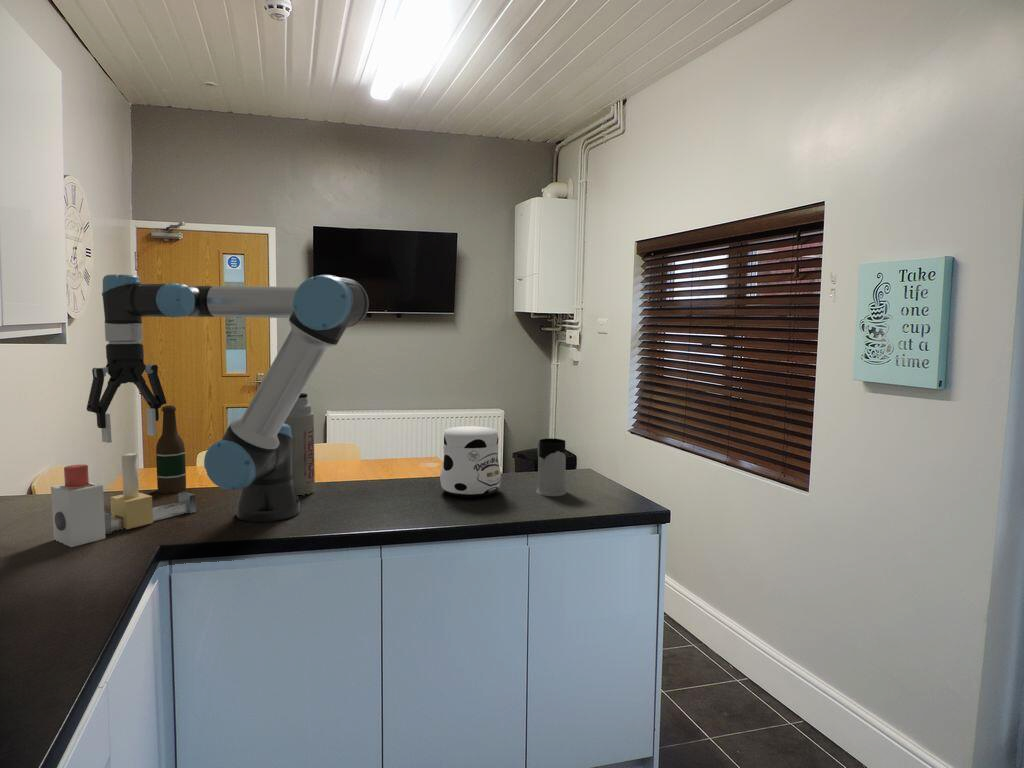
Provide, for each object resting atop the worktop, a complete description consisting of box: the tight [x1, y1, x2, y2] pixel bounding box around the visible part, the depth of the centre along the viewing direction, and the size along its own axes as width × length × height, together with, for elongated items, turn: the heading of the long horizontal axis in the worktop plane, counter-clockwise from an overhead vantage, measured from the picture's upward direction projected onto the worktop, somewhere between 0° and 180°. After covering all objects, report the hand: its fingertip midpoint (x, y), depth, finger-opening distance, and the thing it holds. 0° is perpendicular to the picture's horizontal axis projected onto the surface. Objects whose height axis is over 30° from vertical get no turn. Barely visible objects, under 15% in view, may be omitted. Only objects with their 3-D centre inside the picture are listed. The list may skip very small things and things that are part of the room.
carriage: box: [110, 453, 154, 530], centre depth 160 cm, size 7×6×16 cm
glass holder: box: [535, 437, 567, 497], centre depth 198 cm, size 9×14×15 cm, turn 21°
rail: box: [104, 491, 197, 535], centre depth 164 cm, size 5×22×4 cm, turn 147°
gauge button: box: [63, 464, 90, 487], centre depth 149 cm, size 4×4×4 cm
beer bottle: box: [155, 405, 187, 495], centre depth 190 cm, size 8×8×24 cm
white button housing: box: [50, 481, 107, 548], centre depth 150 cm, size 8×7×12 cm
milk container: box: [439, 425, 502, 498], centre depth 193 cm, size 17×17×18 cm
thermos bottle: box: [284, 392, 316, 496], centre depth 190 cm, size 8×8×28 cm
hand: (129, 438), depth 159 cm, fingers open, 10 cm apart
